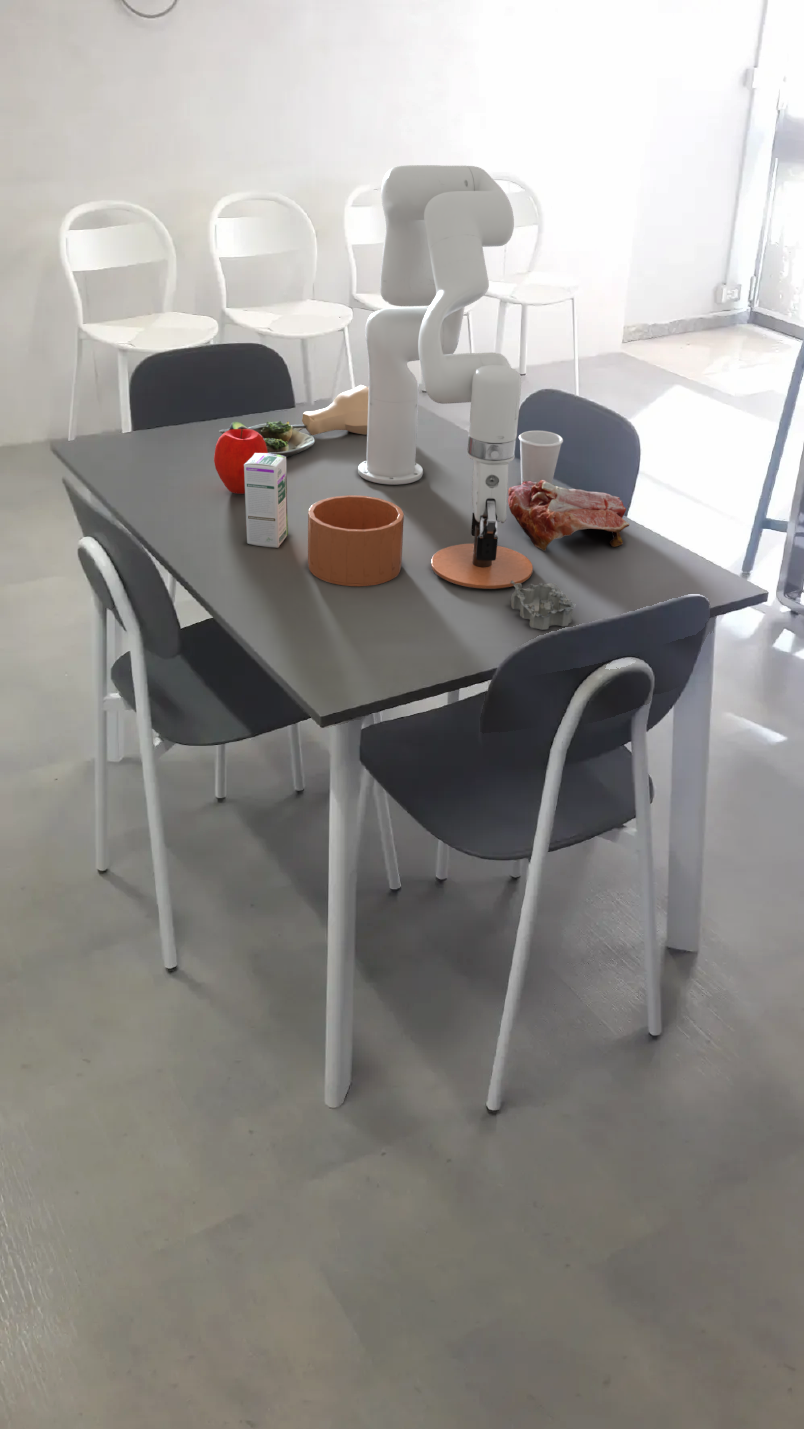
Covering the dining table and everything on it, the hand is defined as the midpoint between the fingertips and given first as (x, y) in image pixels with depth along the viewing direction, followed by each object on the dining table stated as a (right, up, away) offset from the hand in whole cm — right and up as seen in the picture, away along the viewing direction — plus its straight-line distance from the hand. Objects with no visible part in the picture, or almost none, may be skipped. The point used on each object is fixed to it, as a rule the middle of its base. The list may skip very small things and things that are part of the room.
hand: (483, 547), depth 207 cm
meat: (+16, +5, +18) cm, 25 cm away
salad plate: (-41, +27, +50) cm, 70 cm away
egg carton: (+8, -12, -11) cm, 18 cm away
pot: (-21, -3, +1) cm, 21 cm away
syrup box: (-36, +2, +9) cm, 38 cm away
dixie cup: (+12, +16, +36) cm, 42 cm away
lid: (0, -3, +2) cm, 3 cm away
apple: (-43, +14, +27) cm, 53 cm away
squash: (-25, +33, +60) cm, 73 cm away
